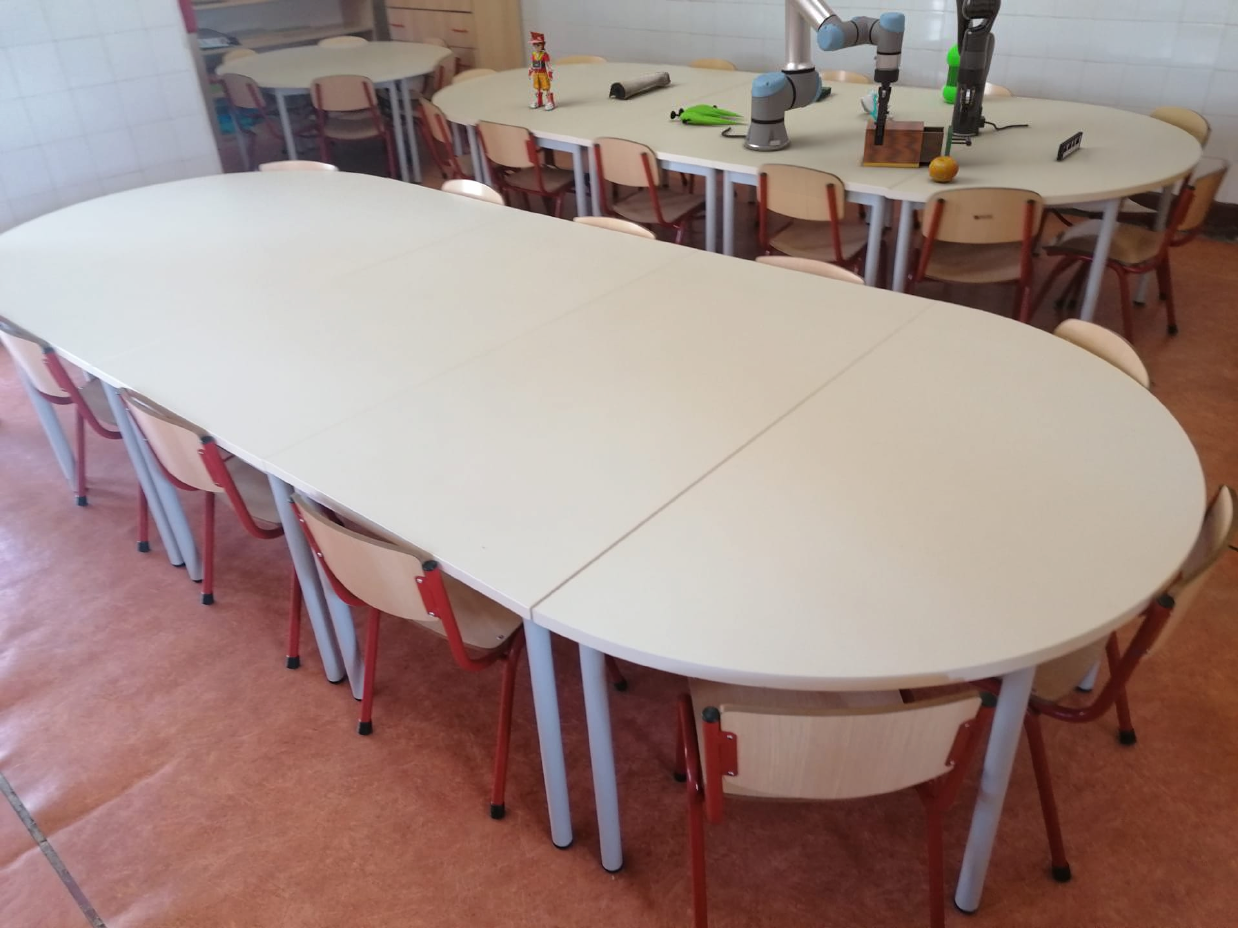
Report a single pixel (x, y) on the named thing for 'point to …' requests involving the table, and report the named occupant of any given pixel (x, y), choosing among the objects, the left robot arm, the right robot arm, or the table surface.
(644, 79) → the rolled mat
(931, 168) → the fruit
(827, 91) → the disk drive
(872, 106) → the anatomical model
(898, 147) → the cabinet
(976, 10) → the right robot arm
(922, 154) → the drawer
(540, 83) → the toy
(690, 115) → the toy
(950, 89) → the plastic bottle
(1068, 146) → the midi keyboard
